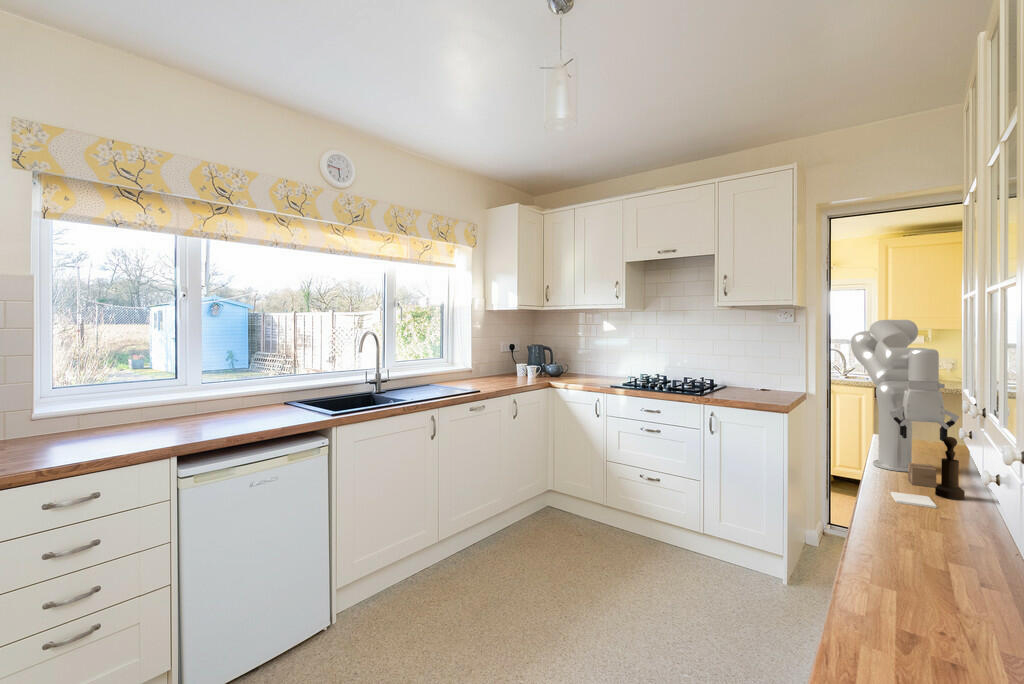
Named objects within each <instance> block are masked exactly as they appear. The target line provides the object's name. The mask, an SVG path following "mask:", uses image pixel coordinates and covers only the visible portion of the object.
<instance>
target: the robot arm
mask: <svg viewBox="0 0 1024 684" xmlns="http://www.w3.org/2000/svg"><path fill="white" fill-rule="evenodd" d="M918 335H919V328H918V326H917V324H916V323H915V321H912V320H909V319H880V320H877V321H875V322H873V323H872V324H871V325H870V327H869V329H868V330H866V331H865V330H863V331H859V332H857V333H855V334H853V336H852V337H851V341H850V347H851V351H852V354H853V355H854V358H855V359H856V360H857V361H858V363H860V365H862V367H864V369H865V370H866V372H867V374H868V376H869V377H870V379H871V381H872V383H873V384H874V385H875V386H876V388H875V397H876V402H877V407H878V408H877V409H878V458H877V459H875V460H873V462H872V464H873V466H875V467H877V468H880V469H883V470H887V471H888V470H889V471H896V472H906V473H907V472H908V463H912V462H913V461H912V459H913V457H912V453H913V452H912V451H913V450H912V448H913V447H912V446H913V445H912V444H913V443H912V442H913V441H912V440H913V439H912V437H913V422H920V423H921V422H922V423H933V424H935V423H936V424H937V423H938V424H939V426H940V427H939V440H940V441H941V442H943V443H944V439H945V438H946V437H948V430H949V429H950V428H951V427H952V426H954V425H955V424H956V422H957V421H958V419H960V416H959V415H958V414H956V413H953V412H951V411H948V410H946V409H945V405H944V404H945V403H944V398H943V394H942V391H940V389H945V387H946V386H945V385H946V384H945V383H940V381H939V380H940V379H939V378H940V377H939V376H940V374H939V373H940V371H939V370H940V369H939V366H940V365H939V364H940V355H939V353H940V352H939V351H938V350H937V349H934V348H925V347H909V345H911V344H913V342H915V341H916V339H917V337H918ZM945 415H946V416H949V417H950V419H949V420H948V421H946V422H945V418H946V416H945Z"/></svg>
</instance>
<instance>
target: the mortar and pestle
mask: <svg viewBox="0 0 1024 684" xmlns="http://www.w3.org/2000/svg"><path fill="white" fill-rule="evenodd" d="M943 443H944V445H945V447H946V450H944V453H945V456H946V457H943V458H941V467H940V468H941V469H940V470H941V473H940V475H941V482H940V484H938V485H936V487H935V488H934V490H935V491H934V494H935V495H936V496H938V497H941V498H944V499H949V500H960V501H963V500H964V499H965V497H966V495H965V490H964V489H963V488H961V487H960V486H959V485H960V484H959V481H960V479H959V469H960V468H959V467H960V460H957V459H954V458H955V457H956V452H955V450H954V448H955V447H956V446H957V445H958V441H957V439H956V438H955V437H953V436H947V437H946V438H945V439H944V442H943Z"/></svg>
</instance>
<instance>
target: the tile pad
mask: <svg viewBox="0 0 1024 684" xmlns="http://www.w3.org/2000/svg"><path fill="white" fill-rule="evenodd" d="M890 495H891V496H892V498H893V500H894V501H895V503H897V504H901V505H902V504H904V505H910V506H917V507H926V508H934V509H937V508H938V506H937V505H936V503H935V502H934V501H933V500H932V499H931V498H930V497H929V496H927V495H919V494H913V493H912V494H910V493H904V492H895V491H890Z"/></svg>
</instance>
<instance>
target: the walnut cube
mask: <svg viewBox="0 0 1024 684" xmlns="http://www.w3.org/2000/svg"><path fill="white" fill-rule="evenodd" d="M907 481H908V482H909V483H910V485H911V484H912V485H911V486H913V485H914V487H921V488H922V487H924V488H930V489H931V488H932V489H935V487H936V486H937V469H936V467H934V465H932V464H923V463H912V462H911V463H908V473H907Z"/></svg>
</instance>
